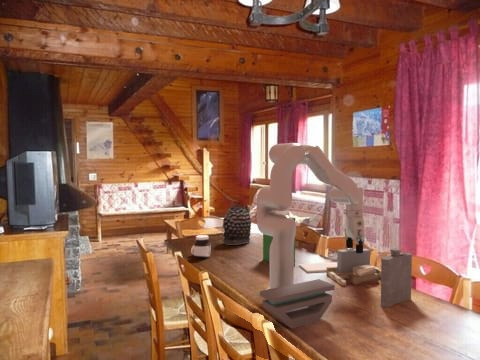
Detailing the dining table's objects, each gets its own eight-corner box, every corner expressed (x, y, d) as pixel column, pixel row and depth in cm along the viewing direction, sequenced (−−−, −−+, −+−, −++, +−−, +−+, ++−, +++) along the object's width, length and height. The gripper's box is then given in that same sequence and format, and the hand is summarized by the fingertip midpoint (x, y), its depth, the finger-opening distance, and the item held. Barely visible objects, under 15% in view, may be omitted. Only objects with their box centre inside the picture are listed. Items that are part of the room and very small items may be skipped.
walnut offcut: (378, 283, 171) (378, 274, 170) (354, 286, 167) (354, 276, 167) (371, 279, 175) (371, 271, 175) (347, 282, 172) (348, 273, 172)
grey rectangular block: (369, 276, 179) (370, 250, 179) (340, 278, 177) (341, 251, 176) (365, 273, 183) (365, 248, 183) (337, 275, 181) (337, 249, 180)
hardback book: (295, 265, 198) (295, 218, 197) (283, 267, 195) (283, 219, 193) (274, 257, 214) (274, 213, 212) (263, 259, 210) (263, 214, 209)
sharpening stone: (273, 333, 121) (273, 298, 121) (259, 324, 128) (259, 291, 127) (334, 316, 134) (334, 285, 133) (318, 309, 141) (318, 279, 140)
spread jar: (205, 260, 209) (204, 238, 209) (185, 258, 213) (185, 237, 212) (213, 254, 221) (213, 234, 220) (195, 253, 224) (195, 233, 224)
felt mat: (351, 270, 189) (351, 268, 189) (307, 272, 185) (307, 270, 185) (340, 263, 201) (340, 261, 201) (299, 266, 197) (299, 264, 197)
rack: (391, 282, 170) (391, 274, 170) (342, 286, 166) (342, 277, 166) (371, 271, 186) (371, 264, 186) (326, 274, 182) (326, 267, 182)
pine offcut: (374, 273, 171) (374, 266, 171) (360, 276, 167) (360, 269, 167) (367, 271, 175) (367, 264, 175) (352, 274, 170) (353, 267, 170)
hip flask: (386, 308, 141) (387, 253, 140) (376, 304, 144) (377, 250, 143) (412, 299, 150) (413, 247, 149) (403, 296, 153) (404, 245, 152)
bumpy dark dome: (241, 239, 263) (241, 202, 262) (257, 242, 252) (257, 203, 251) (217, 243, 249) (216, 204, 248) (232, 247, 238) (232, 206, 237)
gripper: (371, 215, 171) (371, 254, 172) (353, 210, 188) (353, 245, 189) (355, 216, 169) (355, 255, 171) (338, 211, 186) (338, 246, 188)
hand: (354, 250), depth 180 cm, fingers open, 9 cm apart
